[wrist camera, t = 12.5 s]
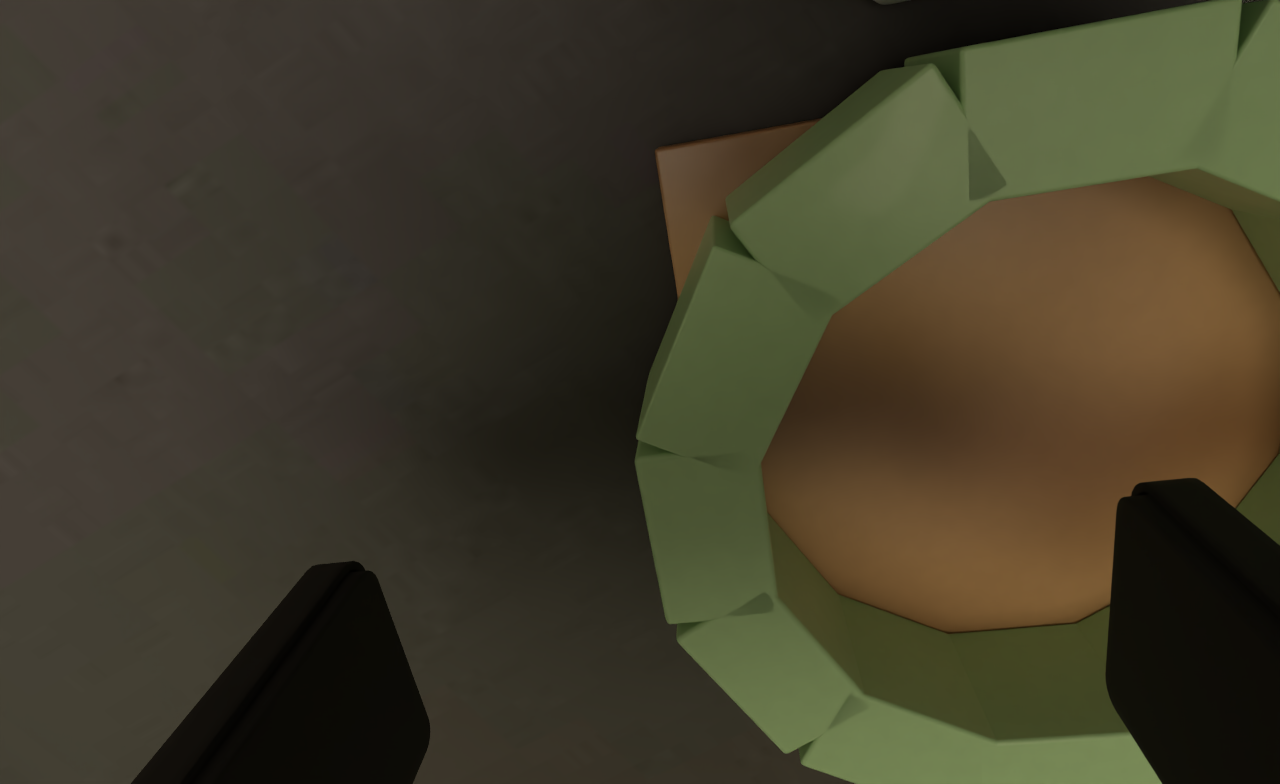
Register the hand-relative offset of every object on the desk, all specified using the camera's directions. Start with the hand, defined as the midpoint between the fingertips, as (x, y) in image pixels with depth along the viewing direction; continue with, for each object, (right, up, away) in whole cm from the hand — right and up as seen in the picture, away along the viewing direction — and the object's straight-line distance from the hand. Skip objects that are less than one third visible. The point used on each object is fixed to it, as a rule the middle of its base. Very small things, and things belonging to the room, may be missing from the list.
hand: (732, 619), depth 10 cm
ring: (+6, +2, +5) cm, 8 cm away
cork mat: (+6, +3, +5) cm, 8 cm away
